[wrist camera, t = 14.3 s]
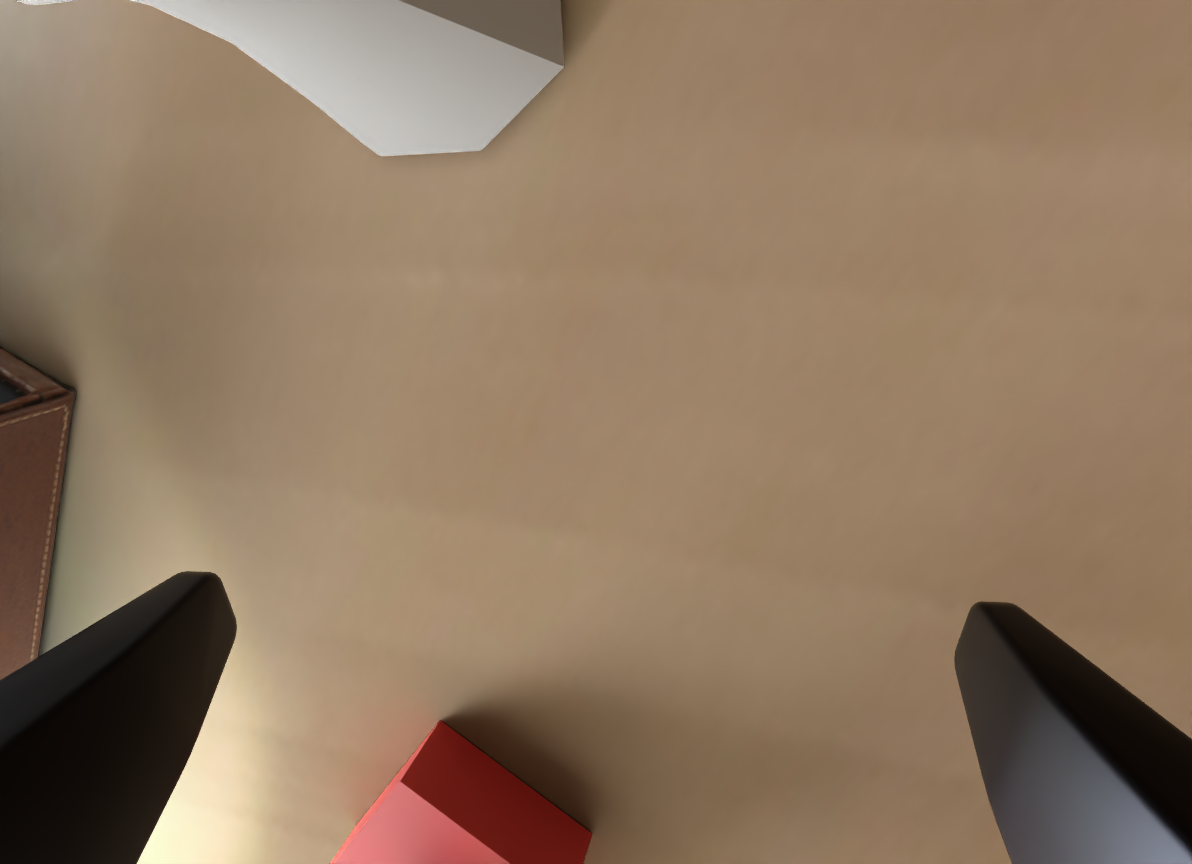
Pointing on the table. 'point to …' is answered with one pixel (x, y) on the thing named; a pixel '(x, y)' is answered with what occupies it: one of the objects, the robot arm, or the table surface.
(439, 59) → the flask
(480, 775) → the red slab
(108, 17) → the table surface
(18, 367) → the letter holder
